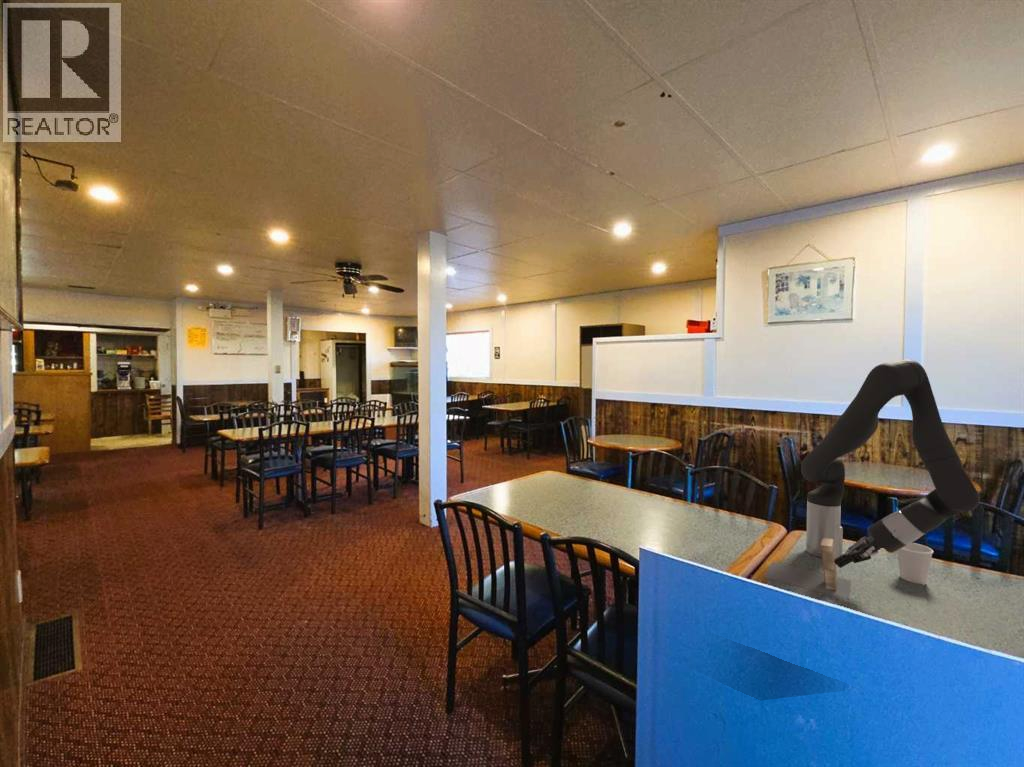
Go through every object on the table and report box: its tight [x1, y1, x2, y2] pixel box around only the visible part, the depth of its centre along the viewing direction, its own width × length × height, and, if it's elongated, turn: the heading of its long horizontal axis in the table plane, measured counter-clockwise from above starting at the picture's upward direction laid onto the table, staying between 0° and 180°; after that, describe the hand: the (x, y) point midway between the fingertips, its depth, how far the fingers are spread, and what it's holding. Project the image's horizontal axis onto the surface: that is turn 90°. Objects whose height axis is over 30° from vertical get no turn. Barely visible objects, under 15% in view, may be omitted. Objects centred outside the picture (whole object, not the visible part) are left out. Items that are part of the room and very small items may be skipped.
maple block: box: [821, 538, 838, 590], centre depth 126 cm, size 2×7×12 cm, turn 141°
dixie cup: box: [896, 542, 934, 586], centre depth 130 cm, size 8×8×10 cm
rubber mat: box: [763, 561, 852, 600], centre depth 130 cm, size 20×14×1 cm
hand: (836, 563), depth 125 cm, fingers closed
